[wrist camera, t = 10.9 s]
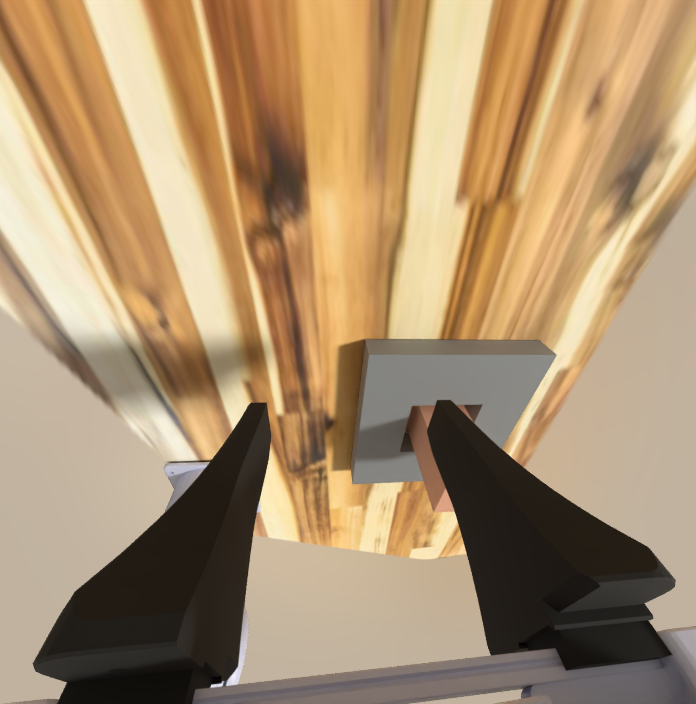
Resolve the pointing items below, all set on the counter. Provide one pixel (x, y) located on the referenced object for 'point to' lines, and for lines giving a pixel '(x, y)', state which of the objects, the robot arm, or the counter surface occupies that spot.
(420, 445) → the terracotta peg
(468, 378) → the socket block
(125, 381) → the counter surface
